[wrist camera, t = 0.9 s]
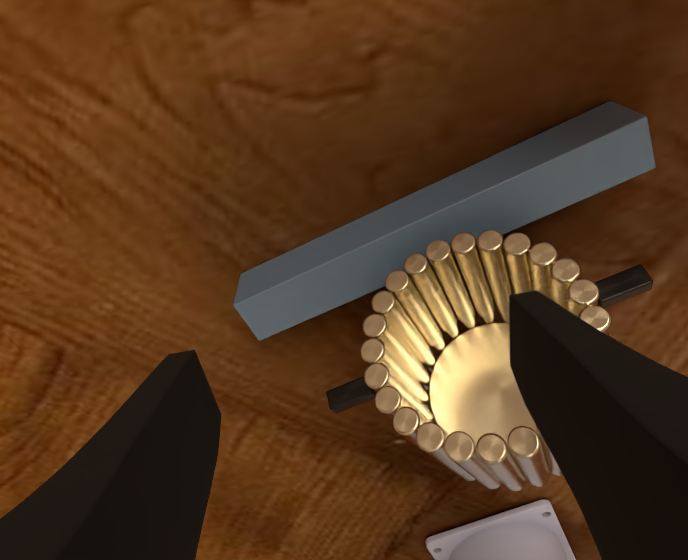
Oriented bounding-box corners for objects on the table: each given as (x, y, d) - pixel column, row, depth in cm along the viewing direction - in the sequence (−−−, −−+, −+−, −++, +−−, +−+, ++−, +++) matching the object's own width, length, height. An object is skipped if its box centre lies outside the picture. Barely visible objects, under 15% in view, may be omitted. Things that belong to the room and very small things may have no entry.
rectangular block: (620, 147, 20) (656, 168, 18) (264, 307, 23) (259, 341, 21) (610, 99, 19) (647, 115, 17) (240, 273, 22) (232, 305, 20)
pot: (598, 327, 25) (752, 517, 16) (391, 408, 27) (427, 615, 18) (546, 146, 20) (721, 273, 11) (300, 259, 22) (291, 442, 13)
